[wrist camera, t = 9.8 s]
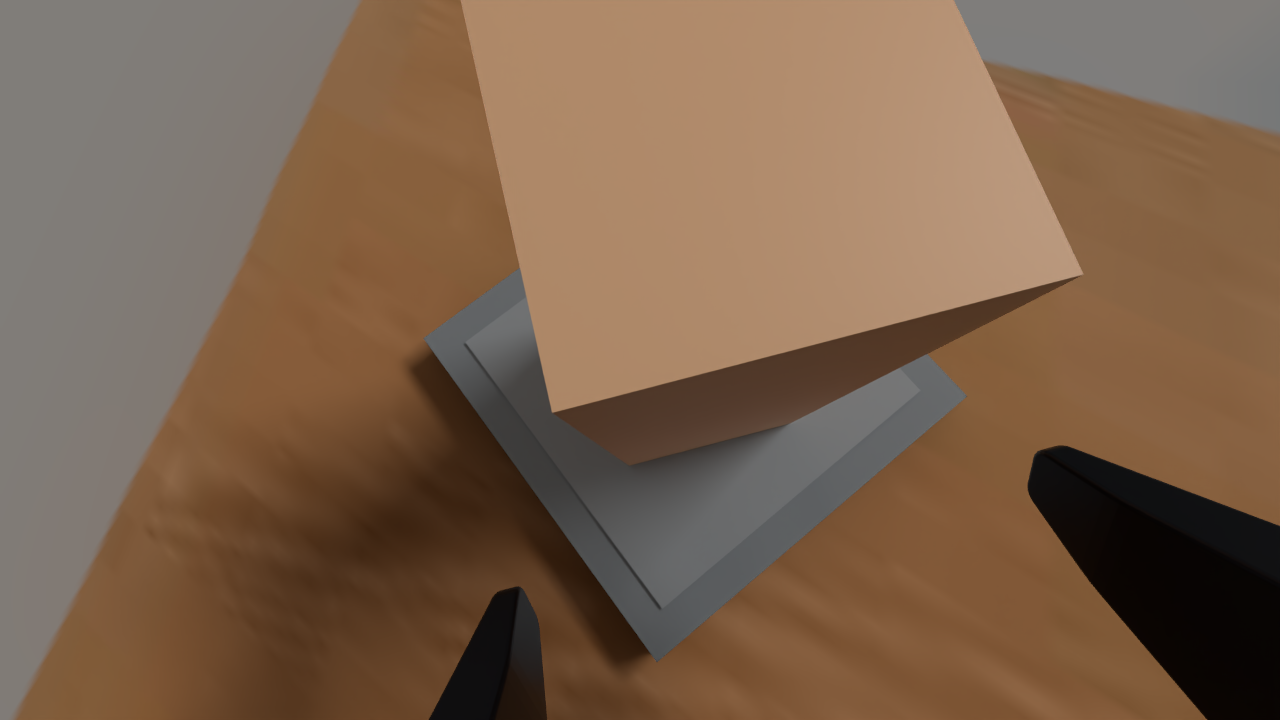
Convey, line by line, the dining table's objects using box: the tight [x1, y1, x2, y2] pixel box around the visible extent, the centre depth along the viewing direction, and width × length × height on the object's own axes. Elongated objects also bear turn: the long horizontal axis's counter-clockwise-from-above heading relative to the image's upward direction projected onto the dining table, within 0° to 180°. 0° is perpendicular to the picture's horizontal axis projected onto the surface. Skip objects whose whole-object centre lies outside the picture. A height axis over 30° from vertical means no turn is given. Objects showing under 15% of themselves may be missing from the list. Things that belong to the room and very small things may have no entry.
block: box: [461, 0, 1083, 466], centre depth 11 cm, size 5×5×12 cm
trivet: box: [424, 268, 967, 662], centre depth 18 cm, size 12×12×1 cm
